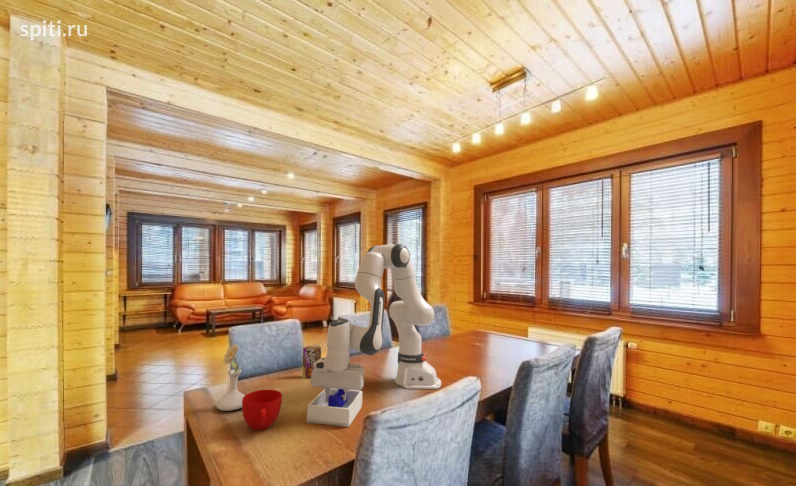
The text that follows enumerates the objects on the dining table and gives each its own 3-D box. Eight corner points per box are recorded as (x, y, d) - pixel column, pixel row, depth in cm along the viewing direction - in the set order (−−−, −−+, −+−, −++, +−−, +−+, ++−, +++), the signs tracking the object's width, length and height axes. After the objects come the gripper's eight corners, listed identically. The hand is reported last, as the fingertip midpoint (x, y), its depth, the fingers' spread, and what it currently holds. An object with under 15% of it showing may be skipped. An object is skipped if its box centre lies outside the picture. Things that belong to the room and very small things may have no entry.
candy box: (320, 375, 170) (322, 344, 171) (320, 378, 166) (321, 346, 167) (302, 375, 169) (304, 345, 170) (301, 378, 165) (303, 347, 166)
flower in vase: (217, 403, 133) (221, 340, 135) (248, 399, 138) (252, 338, 140) (213, 417, 121) (218, 347, 123) (248, 413, 126) (251, 345, 128)
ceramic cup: (239, 444, 104) (241, 411, 105) (241, 420, 120) (242, 392, 120) (283, 436, 109) (284, 405, 110) (279, 415, 125) (280, 387, 126)
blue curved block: (335, 399, 134) (336, 384, 134) (346, 400, 133) (347, 385, 133) (324, 413, 122) (324, 396, 122) (335, 414, 121) (336, 397, 122)
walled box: (361, 406, 134) (362, 390, 135) (348, 426, 117) (349, 409, 118) (325, 402, 137) (325, 387, 137) (306, 422, 120) (307, 405, 120)
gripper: (366, 362, 130) (365, 399, 129) (316, 358, 133) (314, 394, 132) (361, 367, 124) (360, 405, 123) (309, 363, 127) (308, 400, 126)
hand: (336, 399), depth 127 cm, fingers closed on blue curved block, 4 cm apart
